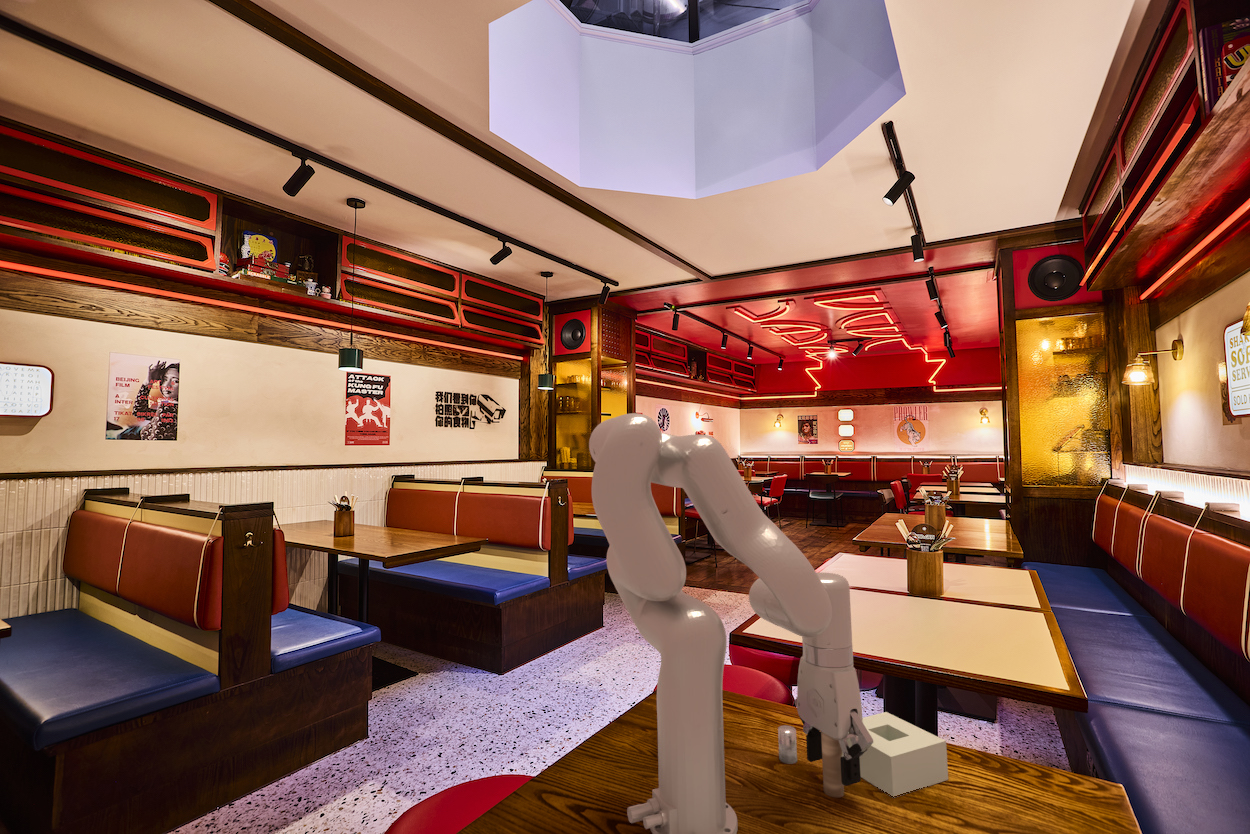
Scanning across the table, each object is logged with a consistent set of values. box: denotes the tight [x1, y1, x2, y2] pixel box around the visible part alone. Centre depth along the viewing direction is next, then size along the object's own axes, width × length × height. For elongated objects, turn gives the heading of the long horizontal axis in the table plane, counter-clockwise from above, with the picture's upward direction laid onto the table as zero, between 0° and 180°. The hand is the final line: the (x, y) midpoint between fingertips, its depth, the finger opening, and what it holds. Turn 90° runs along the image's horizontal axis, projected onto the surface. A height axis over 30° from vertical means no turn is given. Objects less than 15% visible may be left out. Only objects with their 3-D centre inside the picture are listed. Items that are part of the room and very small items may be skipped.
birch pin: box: [820, 731, 845, 798], centre depth 90 cm, size 3×3×12 cm
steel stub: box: [777, 724, 798, 765], centre depth 100 cm, size 3×3×5 cm
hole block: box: [842, 711, 949, 798], centre depth 96 cm, size 12×12×6 cm
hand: (833, 770), depth 90 cm, fingers open, 6 cm apart
